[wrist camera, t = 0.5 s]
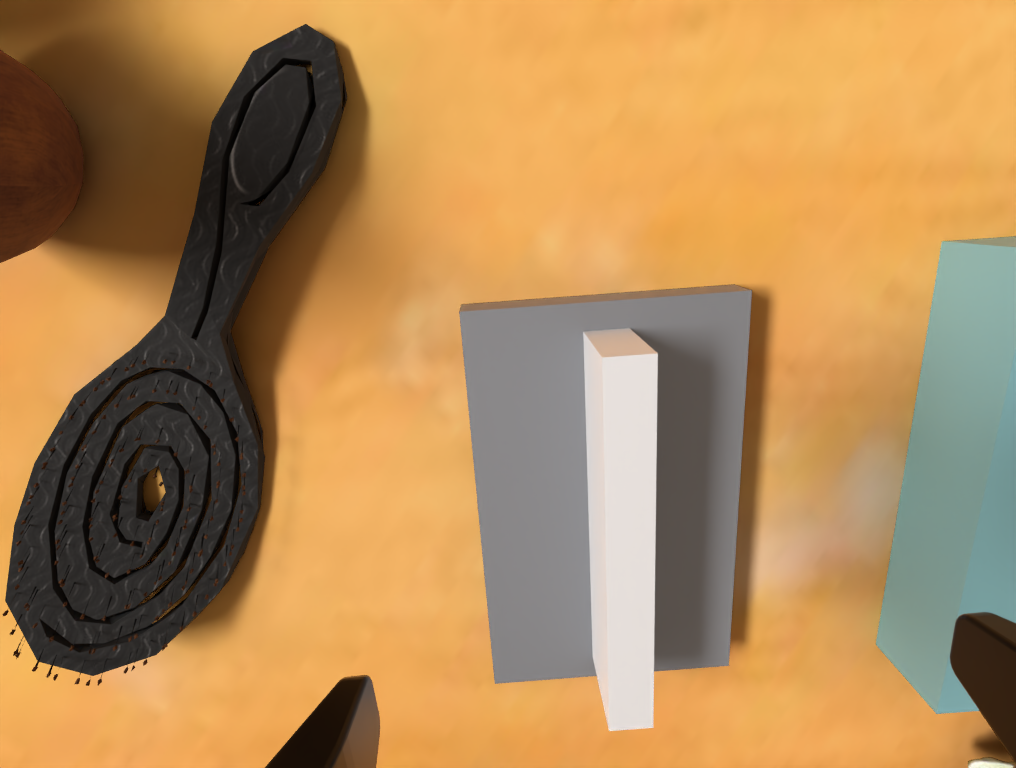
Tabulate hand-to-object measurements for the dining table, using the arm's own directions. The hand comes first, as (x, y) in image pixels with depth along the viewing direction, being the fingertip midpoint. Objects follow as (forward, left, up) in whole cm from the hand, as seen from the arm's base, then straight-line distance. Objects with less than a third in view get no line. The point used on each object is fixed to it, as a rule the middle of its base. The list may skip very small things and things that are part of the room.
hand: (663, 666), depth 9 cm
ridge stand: (-4, -2, -14) cm, 14 cm away
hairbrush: (+2, +13, -14) cm, 20 cm away
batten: (-4, -16, -14) cm, 21 cm away
